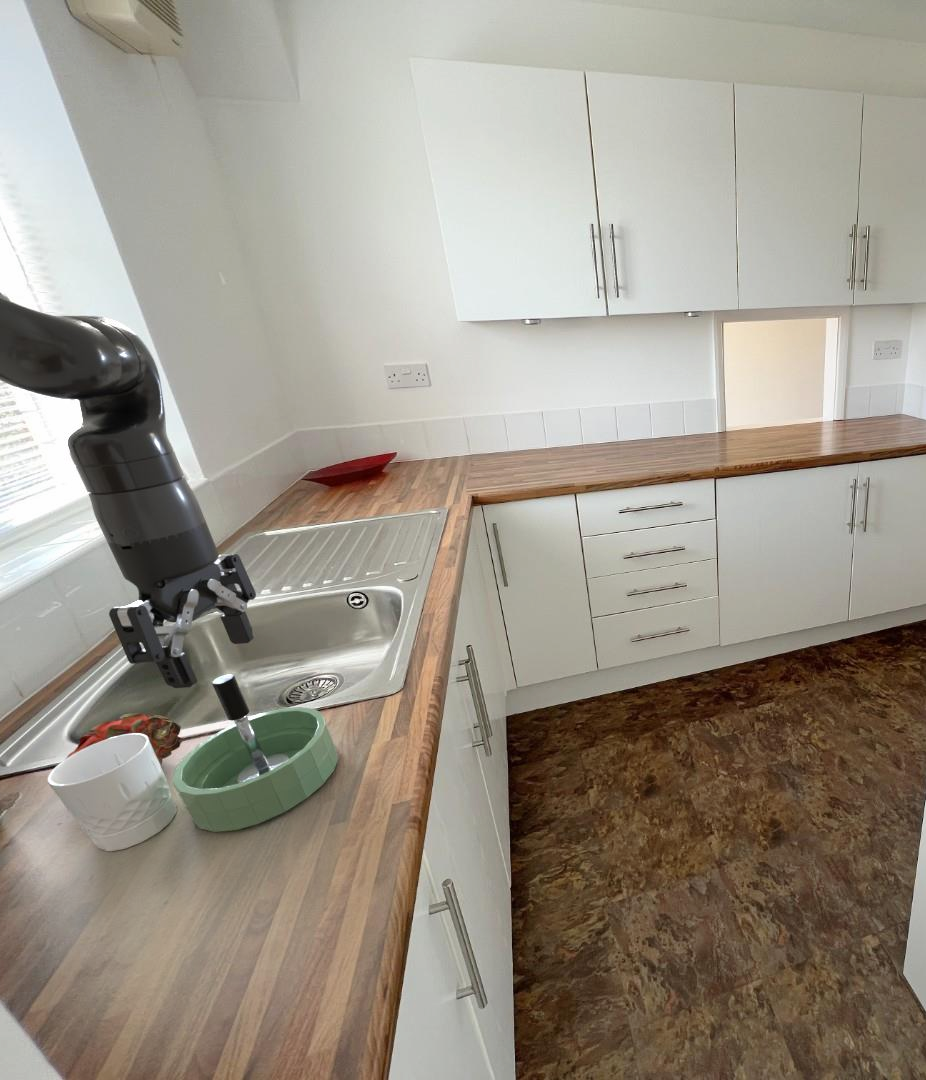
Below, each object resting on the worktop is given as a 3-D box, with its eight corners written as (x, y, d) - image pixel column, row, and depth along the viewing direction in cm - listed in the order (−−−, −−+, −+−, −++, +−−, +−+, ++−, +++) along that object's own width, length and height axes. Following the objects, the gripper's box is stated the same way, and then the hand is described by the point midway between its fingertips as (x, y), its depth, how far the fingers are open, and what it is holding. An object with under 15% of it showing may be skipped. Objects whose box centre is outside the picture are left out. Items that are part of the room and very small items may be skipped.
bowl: (159, 840, 64) (136, 799, 62) (251, 748, 78) (235, 711, 76) (293, 830, 65) (274, 788, 63) (361, 739, 78) (348, 703, 76)
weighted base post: (231, 799, 69) (180, 695, 63) (261, 767, 74) (217, 667, 68) (276, 796, 69) (229, 691, 63) (303, 764, 74) (262, 664, 68)
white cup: (90, 830, 66) (47, 761, 63) (179, 789, 72) (145, 723, 68) (92, 870, 61) (46, 798, 58) (188, 823, 67) (151, 754, 63)
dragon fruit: (206, 760, 78) (90, 816, 73) (189, 708, 81) (76, 757, 76) (171, 744, 72) (40, 804, 66) (154, 687, 75) (27, 740, 69)
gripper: (176, 506, 65) (228, 632, 71) (46, 557, 52) (123, 705, 58) (244, 502, 66) (290, 628, 72) (131, 551, 52) (200, 700, 58)
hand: (216, 662), depth 65 cm, fingers open, 8 cm apart
